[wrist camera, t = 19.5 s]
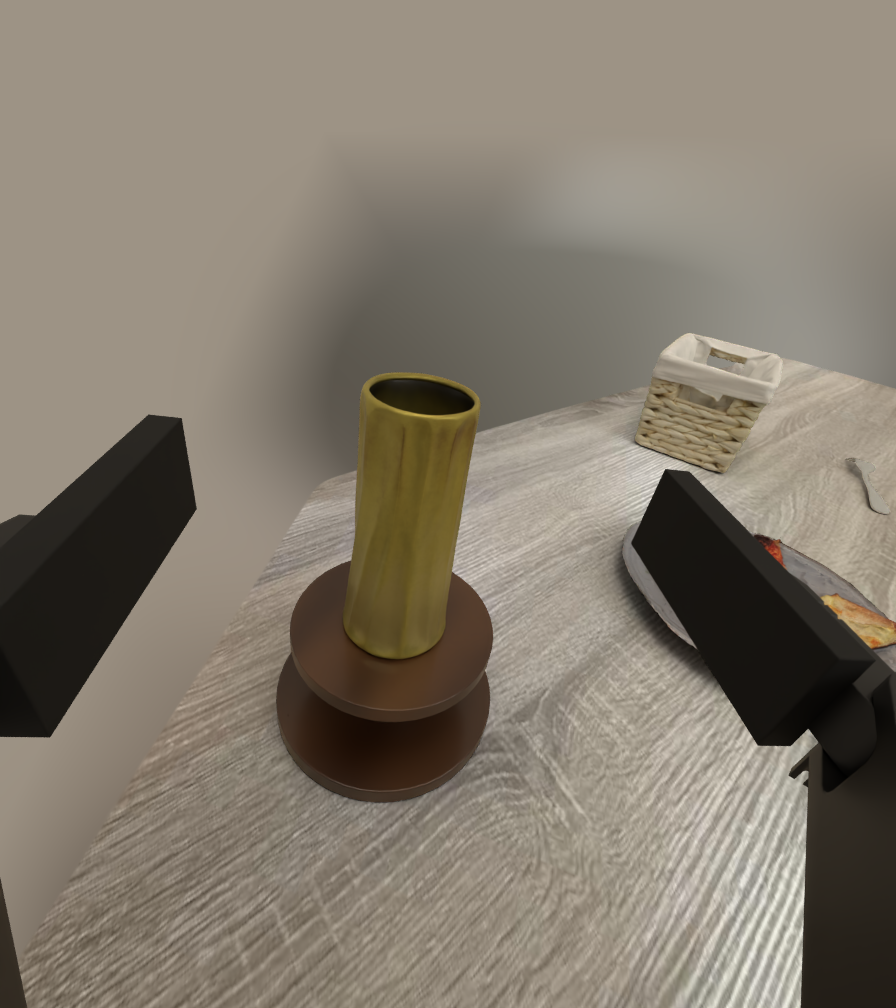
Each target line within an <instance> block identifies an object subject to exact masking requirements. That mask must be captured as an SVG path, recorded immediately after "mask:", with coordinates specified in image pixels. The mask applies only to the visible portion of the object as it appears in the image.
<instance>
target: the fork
mask: <svg viewBox="0 0 896 1008" xmlns="http://www.w3.org/2000/svg"><path fill="white" fill-rule="evenodd" d="M850 459H853V460H850ZM845 460H849V461H852V462H856V465H857V467H858V468H859V469H860V470H861V472H862V477H863V480H864V483H865V485H866V487H867V490H868V495H869V501H870V505H871V508H872V509H873V510H874V511H876V512H878V513H881V514H889V513H890V509H889V506H888V504H887V503H886V502H885V500H884V499H883V498H882V497H881V495H880V494H879V493H878V492H877V491H876V490H875V488H874V487H873V486H872V484H871V482H870V481H869V478H868V475H869V473H871V472H874V471H875V465H874V464H873V463H870V462H866V461H863V460H860V459H856V458H848V459H845Z"/></svg>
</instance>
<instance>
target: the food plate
mask: <svg viewBox="0 0 896 1008" xmlns="http://www.w3.org/2000/svg"><path fill="white" fill-rule="evenodd" d="M640 522H641V521H640ZM640 522H638V523H635V524H633V525H632V526H631V527H630V528H629V529H628V530H627V532H626V534H625V535H624V538H623V541H624V544H623V550H622V553H623V559H624V560H625V562H624V563H625V565H626V566H627V569H628V571H629V573H630V576H631V578H632V580H634V582H635V583H636V584H637V586H638V588H639V590H640V592H641V591H642V594H644V597H646V599H647V600H648V601H647V600H646V601H647V603H648V602H649V603H650V605H652V607H653V609H654V610H655V612H658V613H659V616H660V617H661V618H662V620H663V621H665V623H666V624H667V625H668V627H669V628H670V629H671V630H672V631H673V632H674V633H675V634H677V635H678V636H680V638H683V640H684V641H686V642H687V643H688V644H690V645H691V646H692V645H693V646H694V648H696V646H695V645H694V643H693V641H692V640H691V638H690V637H689V635H688V633H687V632H686V630H685V629H684V627H683V626H682V624H681V622H680V621H679V619H678V618H677V616H676V614H675V613H674V611H673V610H672V608H671V606H670V605H669V603H668V602H667V600H666V599H665V597H664V595H663V594H662V592H661V591H660V589H659V587H658V586H657V584H656V583H655V581H654V579H653V578H652V576H651V575H650V573H649V571H648V570H647V568H646V567H645V565H644V564H643V562H642V560H641V559H640V557H639V556H638V554H637V552H636V551H635V549H634V548H633V546H632V544H631V542H632V540H633V537H634V535H635V533H636V531H637V529H638V527H639V525H640ZM749 532H750V531H749ZM750 533H751V534H752V535H753V536H754V537H755V538H756V539H757V540H758V542H759V543H760V544H761V545H762V546H763V547H764V548H765V549H766V550H767V551H768V552H769V553H770V554H771V555H772V556H773V557H774V558H775V559H776V560H777V561H778V562H779V563H780V564H781V565H782V566H783V567H784V568H785V569H786V570H787V571H788V572H789V573H791V574H792V575H794V576H795V577H797V578H798V579H799V580H801V581H802V582H804V583H805V584H807V585H808V586H809V587H810V588H811V589H812V590H813V591H814V592H815V593H816V594H817V595H818V596H819V597H820V598H821V599H822V600H823V601H824V605H828V606H829V607H830V608H831V609H832V610H833V611H834V612H835V613H836V614H837V615H838V619H842V620H843V621H844V622H845V623H846V624H847V625H848V626H849V627H850V628H851V629H852V630H853V631H854V632H855V633H856V634H857V635H858V636H859V637H860V638H861V639H862V640H863V641H864V642H865V643H866V644H867V645H868V646H869V647H870V648H871V649H872V650H873V651H874V652H875V653H876V654H877V655H878V656H879V657H880V658H881V659H882V660H883V661H884V662H885V663H886V664H887V665H888V666H889V667H890V668H891V669H892V670H893V671H894V672H896V623H895V622H893V621H891V620H889V619H888V618H887V617H886V616H885V614H884V613H882V612H881V611H880V610H878V609H877V608H876V607H875V605H874V604H872V603H871V602H870V601H869V600H868V599H866V598H865V597H864V596H863V595H862V594H861V593H860V592H859V591H858V590H857V589H856V588H855V587H854V586H853V585H852V584H851V583H849V582H848V581H846V580H845V579H843V578H841V577H840V576H839V575H837V574H836V573H834V572H833V571H831V570H830V569H829V568H827V567H825V566H824V565H822V564H821V563H819V562H817V561H815V560H813V559H811V558H809V557H807V556H806V555H804V554H802V553H800V552H798V551H796V550H794V549H793V548H791V547H789V546H787V545H785V544H783V543H782V542H780V541H781V540H779V539H778V540H775V539H772V538H770V537H767V536H764V535H761V534H756V533H752V532H750ZM642 594H641V595H642ZM696 649H697V648H696Z"/></svg>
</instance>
